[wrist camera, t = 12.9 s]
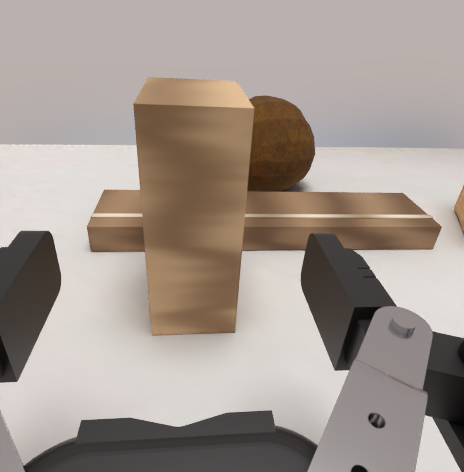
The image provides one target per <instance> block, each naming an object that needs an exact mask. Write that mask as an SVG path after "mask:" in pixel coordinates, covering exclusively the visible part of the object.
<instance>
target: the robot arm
mask: <svg viewBox="0 0 464 472" xmlns="http://www.w3.org/2000/svg"><path fill="white" fill-rule="evenodd" d="M60 286H61V272H60V268H59V263H58V259H57V254H56V250H55V245H54V240H53V237H52V234H51V233H50V232H49V231H21V232H19V234H18V235H17V236H16V237H15V239H14V240H13V241H12V243H11V244H10V245H9V246H8V247H1V248H0V383H1V382H17V381H18V379H19V377H20V375H21V373H22V371H23V369H24V366H25V364H26V362H27V360H28V358H29V356H30V354H31V351H32V349H33V347H34V345H35V343H36V341H37V339H38V337H39V334H40V332H41V330H42V328H43V326H44V324H45V322H46V319H47V317H48V315H49V313H50V311H51V309H52V307H53V304H54V302H55V300H56V298H57V296H58V294H59V291H60ZM301 286H302V290H303V293H304V295H305V298H306V300H307V303H308V305H309V308H310V310H311V313H312V315H313V318H314V320H315V323H316V325H317V328H318V330H319V333H320V335H321V338H322V340H323V342H324V345H325V347H326V350H327V352H328V355H329V357H330V360H331V362H332V365H333V367H334V370H335V371H337V370H349V373H348V375H347V378H346V380H345V383H344V385H343V387H342V390H341V392H340V395H339V397H338V399H337V402H336V404H335V407H334V409H333V411H332V414H331V416H330V419H329V421H328V423H327V426H326V428H325V431H324V433H323V435H322V438H321V440H320V443H319V445H316V444H315V443H314V442H312V441H311V440H309V439H308V438H306V437H304V436H303V435H300V434H298V433H296V432H294V431H292V430H289V429H286V428H283V427H279V426H275V424H274V419H273V414H272V411H253V412H233V413H225V414H222V415H218V416H215V417H212V418H209V419H205V420H202V421H199V422H196V423H192V424H189V425H186V426H182V427H173V426H169V425H164V424H159V423H154V422H149V421H144V420H139V419H134V418H117V419H97V420H81V424H80V427H79V431H78V435H77V437H75V438H72V439H69V440H66V441H64V442H62V443H59V444H57V445H55V446H53V447H51V448H50V449H48V450H46V451H44V452H43V453H41V454H40V455H38V456H37V457H35V458H33V459H32V460H31V461H30V462H28V463H27V464H26V465H23V463H22V461H21V458H20V456H19V454H18V451H17V449H16V446H15V444H14V442H13V439H12V437H11V435H10V432H9V430H8V427H7V425H6V423H5V420H4V418H3V416H2V413H1V411H0V472H415V469H416V463H417V457H418V451H419V445H420V440H421V434H422V428H423V422H424V416H425V415H427V416H431V417H432V418H433V419H434V421H435V423H436V425H437V427H438V429H439V431H440V432H441V434H442V436H443V438H444V440H445V442H446V444H447V446H448V447H449V449H450V451H451V453H452V455H453V457H454V459H455V461H456V462H457V464H458V466H459V468H460V470H461V472H464V338H460V337H455V336H451V335H446V334H441V333H437V332H433V331H432V330H431V328H430V326H429V325H428V323H427V322H426V321H425V320H424V319H423V318H421V317H420V316H419V315H417V314H415V313H414V312H412V311H409V310H407V309H404V308H400V307H397V306H396V304H395V303H394V302H393V300H392V299H391V297H390V296H389V295H388V293H387V292H386V290H385V289H384V287H383V286H382V285H381V283H380V282H379V280H378V279H376V276H375V275H374V273H373V272H372V270H370V267H369V266H368V265H367V263H366V262H365V260H364V259H363V257H361V256H360V255H359V254H357V253H356V252H354V251H353V250H352V249H350V248H344V247H343V245H342V244H341V242H340V241H339V239H338V238H337V236H336V235H335V234H334V233H311V234H310V235H309V237H308V241H307V246H306V251H305V256H304V261H303V266H302V271H301Z"/></svg>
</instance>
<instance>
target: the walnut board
mask: <svg viewBox="0 0 464 472" xmlns="http://www.w3.org/2000/svg"><path fill="white" fill-rule="evenodd" d="M441 228H442V227H441V226H440V225H439V224H438V223H437V222H436V221H435V220H433V217H432V216H430V215H428V214H426V213H425V212H424V211H423V210H422V209H421V208H420V207H418V206H417V205H416V204H415V203H414V202H413V201H412V200H410V199H409V198H408V197H407V196H406V195H405V194H403V193H346V192H256V191H247V198H246V209H245V220H244V232H243V243H242V250H306V246H307V241H308V237H309V235H310V234H311V233H334V234H335V235H336V236H337V238H338V239H339V241H340V242H341V244H342V245H343V247H344V248H350V249H433V247H434V245H435V242H436V240H437V237H438V235H439V233H440V230H441ZM87 230H88V236H89V242H90V248H91V251H145V244H144V231H143V218H142V206H141V193H140V190H104V191H103V193H102V195H101V198H100V200H99V202H98V204H97V206H96V208H95V211H94V213H92V215H91V219H90V221H89V224H88V226H87Z"/></svg>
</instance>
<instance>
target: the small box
mask: <svg viewBox="0 0 464 472" xmlns="http://www.w3.org/2000/svg"><path fill="white" fill-rule="evenodd" d="M454 210H455V211H456V213H457V215H458V218H459V221H460V223H461V226H462V229H463V232H464V186H463V188H462V191H461V193H460V195H459V198H458V200H457V202H456V205H455V207H454Z"/></svg>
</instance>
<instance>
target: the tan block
mask: <svg viewBox="0 0 464 472" xmlns="http://www.w3.org/2000/svg"><path fill="white" fill-rule="evenodd" d="M134 117H135V129H136V142H137V155H138V167H139V180H140V193H141V206H142V218H143V231H144V244H145V256H146V269H147V282H148V295H149V307H150V320H151V333H152V335H175V334H205V333H235V323H236V312H237V300H238V289H239V278H240V266H241V255H242V243H243V232H244V220H245V209H246V198H247V186H248V175H249V163H250V152H251V141H252V129H253V118H254V107H253V105H252V104H251V102H250V101H249V99H248V98H247V97H246V95H245V93H244V92H243V90H242V89H241V87H240V86H239V84H238V83H237V82H236V81H218V80H195V79H174V78H153V77H148V79H147V81H146V83H145V84H144V86H143V88H142V90H141V91H140V93H139V95H138V97H137V98H136V100H135V102H134Z"/></svg>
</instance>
